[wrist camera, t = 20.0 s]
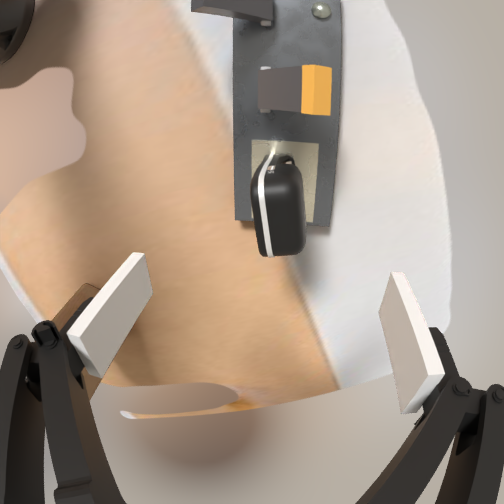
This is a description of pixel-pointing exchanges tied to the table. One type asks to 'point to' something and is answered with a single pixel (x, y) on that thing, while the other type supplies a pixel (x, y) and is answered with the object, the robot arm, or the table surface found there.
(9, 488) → the robot arm
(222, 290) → the table surface
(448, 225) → the table surface
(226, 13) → the lever
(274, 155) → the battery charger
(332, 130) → the panel
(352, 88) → the table surface
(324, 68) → the lever
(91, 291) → the wooden block
